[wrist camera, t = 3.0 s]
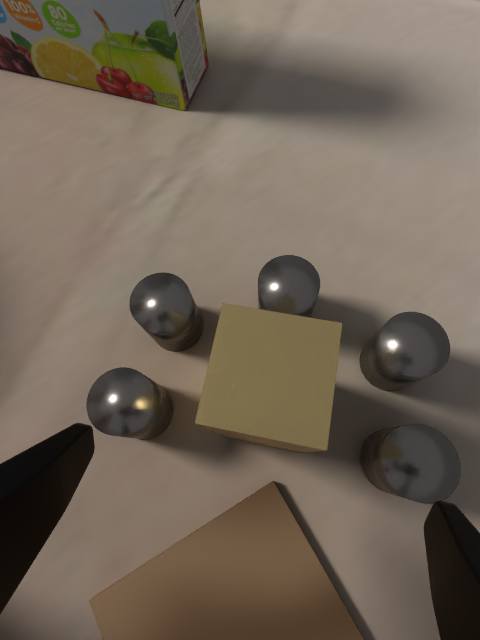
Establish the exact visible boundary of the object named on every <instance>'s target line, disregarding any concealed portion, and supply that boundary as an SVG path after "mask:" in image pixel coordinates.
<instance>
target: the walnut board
mask: <svg viewBox="0 0 480 640" xmlns="http://www.w3.org/2000/svg"><path fill="white" fill-rule="evenodd" d="M89 602H90V605H91V607H92V610H93V613H94V616H95V618H96V621H97V624H98V627H99V629H100V632H101V635H102V637H103V640H364V638H363V637H362V635H361V633H360V631H359V630H358V628H357V626H356V624H355V623H354V621H353V619H352V617H351V616H350V614H349V612H348V610H347V609H346V607H345V605H344V603H343V602H342V600H341V598H340V596H339V595H338V593H337V591H336V589H335V588H334V586H333V584H332V582H331V581H330V579H329V577H328V575H327V574H326V572H325V570H324V568H323V567H322V565H321V563H320V561H319V560H318V558H317V556H316V554H315V553H314V551H313V549H312V547H311V546H310V544H309V542H308V540H307V539H306V537H305V535H304V533H303V532H302V530H301V528H300V527H299V525H298V523H297V521H296V520H295V518H294V516H293V514H292V513H291V511H290V509H289V507H288V506H287V504H286V502H285V500H284V499H283V497H282V495H281V493H280V492H279V490H278V488H277V486H276V485H275V483H274V481H272V482H271V483H269V484H268V485H266V486H265V487H263V488H261V489H260V490H258V491H257V492H255V493H254V494H252V495H251V496H249V497H247V498H246V499H244V500H243V501H241V502H240V503H238V504H237V505H235V506H234V507H232V508H230V509H229V510H227V511H226V512H224V513H223V514H221V515H220V516H218V517H217V518H215V519H213V520H212V521H210V522H209V523H207V524H206V525H204V526H203V527H201V528H200V529H198V530H196V531H195V532H193V533H192V534H190V535H189V536H187V537H186V538H184V539H183V540H181V541H179V542H178V543H176V544H175V545H173V546H172V547H170V548H169V549H167V550H166V551H164V552H162V553H161V554H159V555H158V556H156V557H155V558H153V559H152V560H150V561H149V562H147V563H145V564H144V565H142V566H141V567H139V568H138V569H136V570H135V571H133V572H132V573H130V574H128V575H127V576H125V577H124V578H122V579H121V580H119V581H118V582H116V583H115V584H113V585H111V586H110V587H108V588H107V589H105V590H104V591H102V592H101V593H99V594H98V595H96V596H94V597H93V598H92V599H91V600H89Z"/></svg>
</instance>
